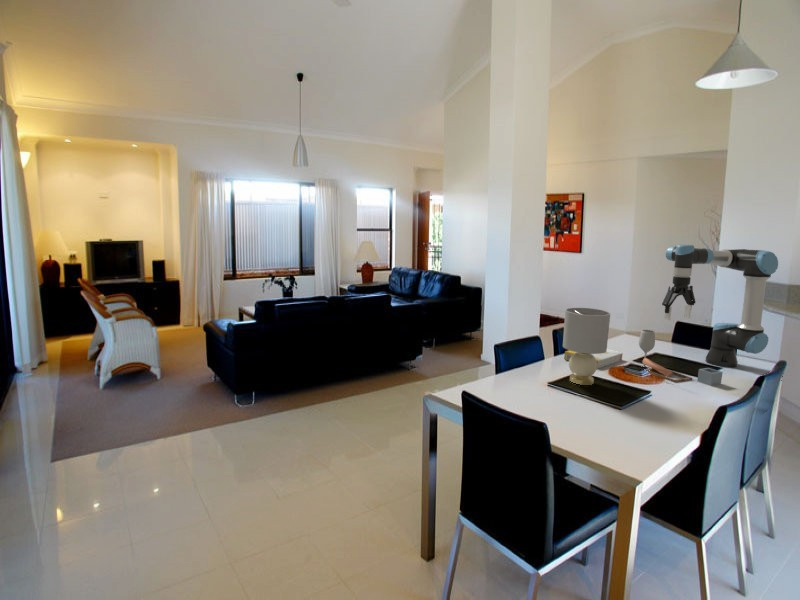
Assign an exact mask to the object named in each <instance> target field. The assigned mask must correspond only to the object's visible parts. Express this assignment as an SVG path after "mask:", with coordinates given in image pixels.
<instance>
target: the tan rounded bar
mask: <svg viewBox="0 0 800 600" xmlns="http://www.w3.org/2000/svg"><path fill="white" fill-rule="evenodd" d="M641 362H642V364H643V365H644V364H645V366H646V367H648V368H650V369H652V368H653V369H654V370H656V371H658V372H660V373H659V374H661V375H663V376H666V377H668V378H670V377H672V375H673V374H672V372H671V371H672V370H670V371H669V369H668V368H666V367H664V366H662V365H660V364H658V363H656V362H654V361H652V360H651V359H649V358H647V357H646V358H643V360H642V361H641Z"/></svg>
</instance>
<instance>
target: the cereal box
mask: <svg viewBox="0 0 800 600" xmlns="http://www.w3.org/2000/svg"><path fill="white" fill-rule="evenodd" d="M574 353H576V352H574V351H570V350H565V351H564V358H563V359H564V360H565V361H568V362H569V360H570V358H571V356H572V355H573V354H574ZM592 355H593V356H594V357H595V359H596V361H597V369H600V368H603V367H606V366H609V365H613V364H615V363H618V362H621V361H623V355H624V353H623V352H621V351H617V350H613V349H610V348H607V351H606V352H604V353H600V354H592Z"/></svg>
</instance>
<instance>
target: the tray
mask: <svg viewBox="0 0 800 600" xmlns="http://www.w3.org/2000/svg"><path fill="white" fill-rule="evenodd" d="M644 370H646V371H648V372H649V373H650V374H649V375H651V376H656V377H658V378H660V379H661V381H662V382H664V380H665V381H666V380H667V381H669V382H672V383H680V382H688V381H692V380H693V377H691V376H688V375H685V374H682V373H679V372H675V371H674V370H669V369H668V370H669V371H671V372H672V375H675V376H678V377H680V378H676V379H673V378H671V377H667V376H665V375H664V374H661V373H660V372H658V371H656V370H654V369H653V368H650V369H644ZM649 370H650V371H649ZM663 379H664V380H663ZM667 381H666V383H667V384H671V385H674V386H675V384H672V383H669V382H667Z"/></svg>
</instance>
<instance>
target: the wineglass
mask: <svg viewBox="0 0 800 600" xmlns="http://www.w3.org/2000/svg"><path fill="white" fill-rule="evenodd" d="M655 345H656V334H655V331H654V330H651V329H641V332H640V336H639V340H638V346H639V348H640V350H641V351H643V352H644V358H647V353H649V352H650V351H652V350H653V349H654V347H655ZM644 358H643V359H644ZM642 366H643V367H647V365H645V364H643V365H642Z"/></svg>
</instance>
